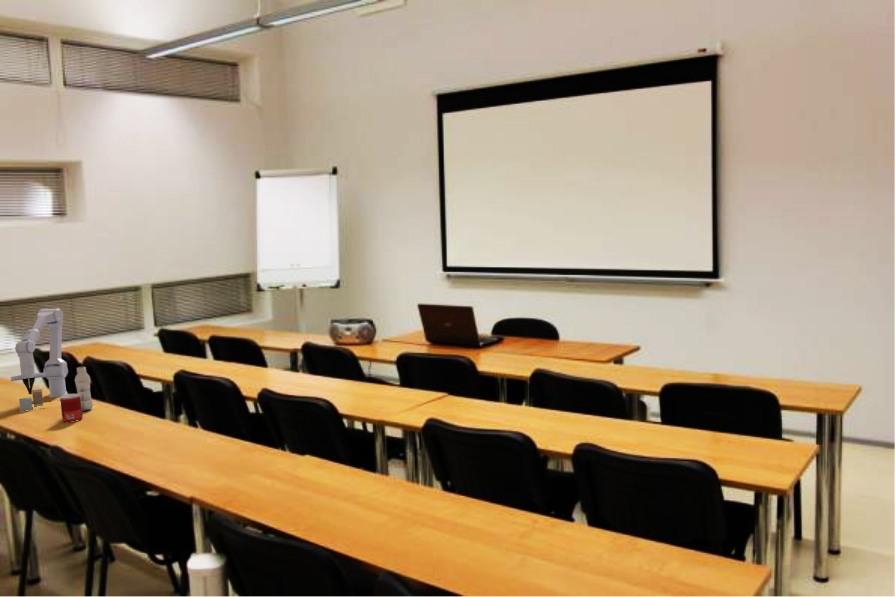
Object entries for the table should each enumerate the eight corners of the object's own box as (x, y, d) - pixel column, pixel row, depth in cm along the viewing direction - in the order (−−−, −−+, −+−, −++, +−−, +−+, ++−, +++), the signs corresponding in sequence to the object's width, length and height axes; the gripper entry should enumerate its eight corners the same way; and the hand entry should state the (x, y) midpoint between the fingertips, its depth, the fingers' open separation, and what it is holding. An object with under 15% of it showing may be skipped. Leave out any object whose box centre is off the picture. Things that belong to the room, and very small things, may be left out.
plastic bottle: (74, 412, 348) (69, 369, 346) (85, 408, 355) (80, 366, 352) (85, 412, 346) (81, 369, 344) (96, 408, 353) (92, 366, 350)
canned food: (86, 418, 335) (83, 394, 334) (69, 423, 328) (66, 398, 327) (76, 417, 339) (73, 392, 338) (59, 421, 332) (56, 397, 331)
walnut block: (33, 404, 366) (32, 390, 365) (43, 403, 368) (41, 388, 367) (33, 406, 361) (32, 392, 360) (43, 405, 363) (41, 391, 362)
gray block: (20, 409, 358) (19, 398, 357) (32, 407, 360) (31, 397, 359) (20, 411, 353) (19, 400, 353) (32, 409, 356) (31, 399, 355)
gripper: (9, 369, 354) (12, 397, 355) (44, 365, 361) (47, 393, 362) (9, 367, 360) (13, 395, 362) (44, 362, 367) (47, 390, 368)
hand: (30, 393), depth 362 cm, fingers closed
